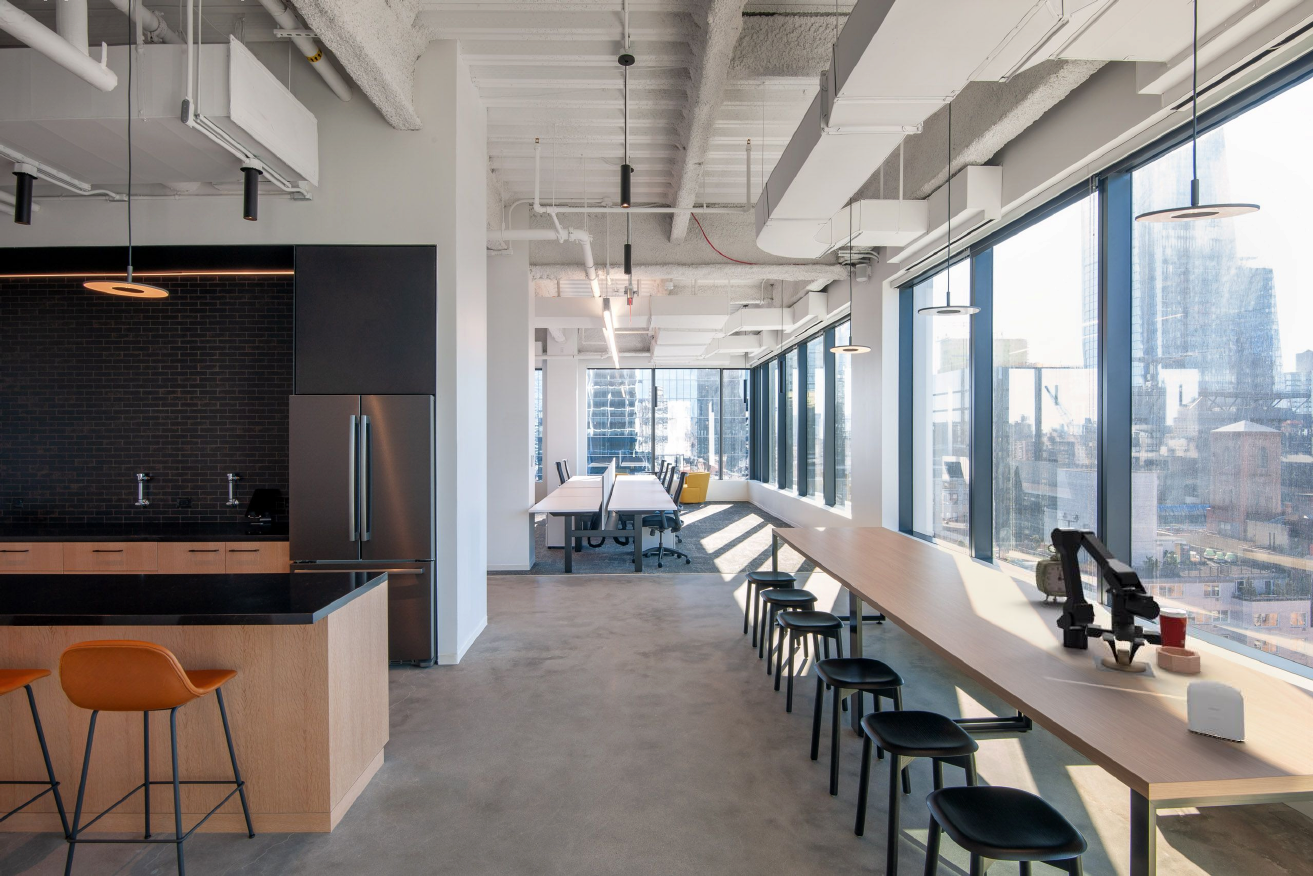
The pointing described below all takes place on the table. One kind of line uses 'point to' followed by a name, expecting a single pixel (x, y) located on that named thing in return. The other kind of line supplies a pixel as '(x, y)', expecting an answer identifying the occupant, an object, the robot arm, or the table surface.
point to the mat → (1101, 667)
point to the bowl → (1178, 659)
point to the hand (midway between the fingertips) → (1123, 662)
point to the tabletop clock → (1050, 576)
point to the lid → (1123, 662)
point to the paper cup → (1173, 627)
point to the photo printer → (1215, 709)
